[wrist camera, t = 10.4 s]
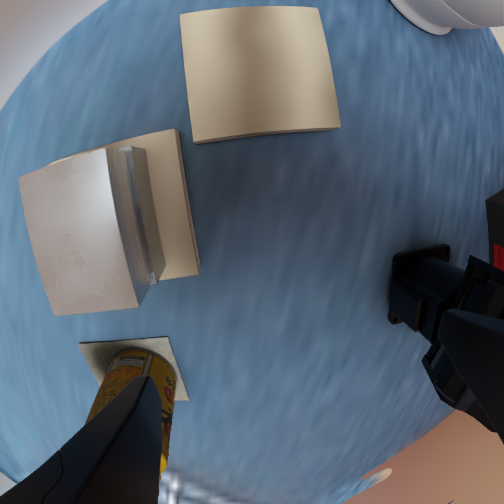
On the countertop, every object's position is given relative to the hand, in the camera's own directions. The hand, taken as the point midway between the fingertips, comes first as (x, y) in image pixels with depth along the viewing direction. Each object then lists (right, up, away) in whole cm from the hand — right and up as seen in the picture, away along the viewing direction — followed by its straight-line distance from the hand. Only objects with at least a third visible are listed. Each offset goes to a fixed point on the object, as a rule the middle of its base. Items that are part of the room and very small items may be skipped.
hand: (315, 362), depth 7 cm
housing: (-10, +5, +9) cm, 14 cm away
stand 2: (-1, +15, +9) cm, 17 cm away
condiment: (-12, -7, +15) cm, 21 cm away
